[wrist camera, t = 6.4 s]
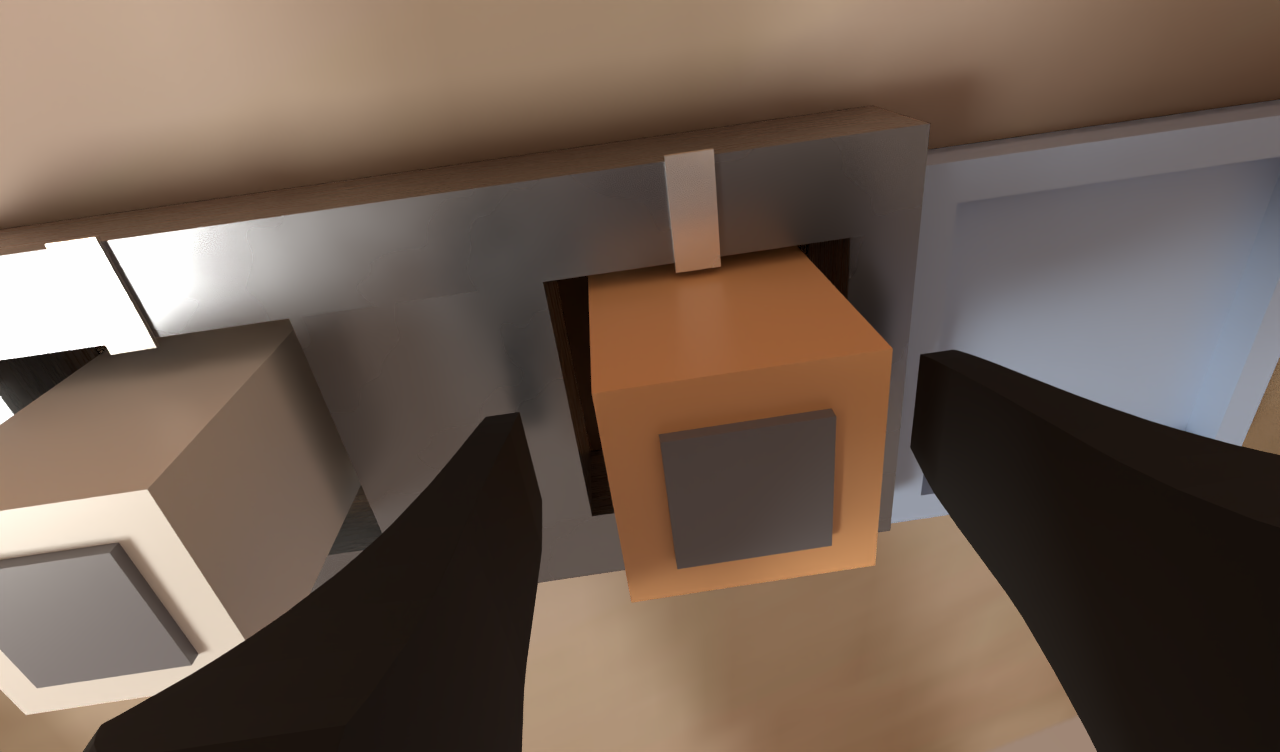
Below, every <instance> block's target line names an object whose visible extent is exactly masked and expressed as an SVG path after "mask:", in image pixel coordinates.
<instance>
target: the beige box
mask: <svg viewBox="0 0 1280 752" xmlns="http://www.w3.org/2000/svg"><path fill="white" fill-rule="evenodd" d="M156 339H157V341H158V343H159V344H160V346H158V347H157V348H152V349H145V350H138V351H131V352H124V353H117V354H111V353H110V352H109V350H108V349H107V350H105V351H104V352H103V353H101V354H100V355H98V356H97V357H95V358H94V359H93V360H91V361H90V362H88V363H87V364H85V365H84V366H83V367H81V368H80V369H78V370H77V371H76V372H74V373H73V374H71V375H70V376H68V377H67V378H66V379H64V380H63V381H61V382H60V383H58V384H57V385H56V386H54V387H53V388H51V389H50V390H49V391H47V392H46V393H44V394H43V395H41V396H40V397H39V398H37V399H36V400H34V401H33V402H31V403H30V404H29V405H27V406H26V407H24V408H23V409H22V410H20V411H19V412H17V413H16V414H14V415H13V416H12V417H10V418H9V419H7V420H6V421H4V422H3V423H2V424H0V689H1V690H2V691H3V692H4V693H5V694H6V695H7V696H8V697H9V698H10V699H11V701H12V702H13V703H14V704H15V705H16V706H17V707H18V708H19V709H20V710H21V711H22V712H23V713H24V714H25V715H28V714H35V713H41V712H48V711H55V710H61V709H68V708H75V707H82V706H88V705H95V704H102V703H108V702H115V701H122V700H129V699H135V698H142V697H149V696H154V695H156V694H157V693H159V692H161V691H163V690H164V689H166V688H168V687H170V686H171V685H173V684H175V683H177V682H178V681H180V680H182V679H184V678H185V677H187V676H189V675H191V674H192V673H194V672H196V671H197V670H199V669H201V668H202V667H204V666H205V665H207V664H209V663H210V662H212V661H214V660H215V659H217V658H218V657H220V656H221V655H223V654H225V653H226V652H228V651H229V650H231V649H232V648H234V647H235V646H237V645H239V644H240V643H242V642H243V641H245V640H246V639H248V638H249V637H251V636H252V635H254V634H255V633H257V632H258V631H260V630H261V629H263V628H264V627H266V626H267V625H268V624H270V623H271V622H273V621H274V620H276V619H277V618H279V617H280V616H281V615H283V614H284V613H286V612H287V611H288V610H290V609H291V608H292V607H294V606H295V605H296V604H297V603H299V602H300V601H301V600H303V599H304V598H305V597H307V596H308V595H309V594H310V592H311V590H312V588H313V586H314V584H315V582H316V579H317V577H318V575H319V573H320V571H321V569H322V567H323V564H324V562H325V560H326V558H327V556H328V554H329V552H330V550H331V547H332V545H333V543H334V541H335V539H336V537H337V535H338V533H339V530H340V528H341V526H342V524H343V522H344V520H345V518H346V516H347V513H348V511H349V509H350V507H351V505H352V503H353V501H354V499H355V496H356V494H357V492H358V490H359V488H360V486H361V483H360V481H359V479H358V477H357V474H356V472H355V470H354V467H353V465H352V463H351V460H350V458H349V456H348V453H347V451H346V449H345V447H344V444H343V442H342V440H341V437H340V435H339V433H338V430H337V428H336V426H335V423H334V421H333V419H332V416H331V414H330V412H329V410H328V407H327V405H326V403H325V400H324V398H323V396H322V393H321V391H320V389H319V386H318V384H317V382H316V380H315V377H314V375H313V373H312V370H311V368H310V366H309V363H308V361H307V359H306V356H305V354H304V352H303V350H302V347H301V345H300V343H299V340H298V338H297V336H296V333H295V331H294V329H293V326H292V324H291V322H290V320H289V319H282V320H275V321H268V322H261V323H254V324H248V325H241V326H234V327H227V328H220V329H213V330H206V331H199V332H192V333H185V334H178V335H171V336H164V337H157V338H156Z"/></svg>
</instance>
